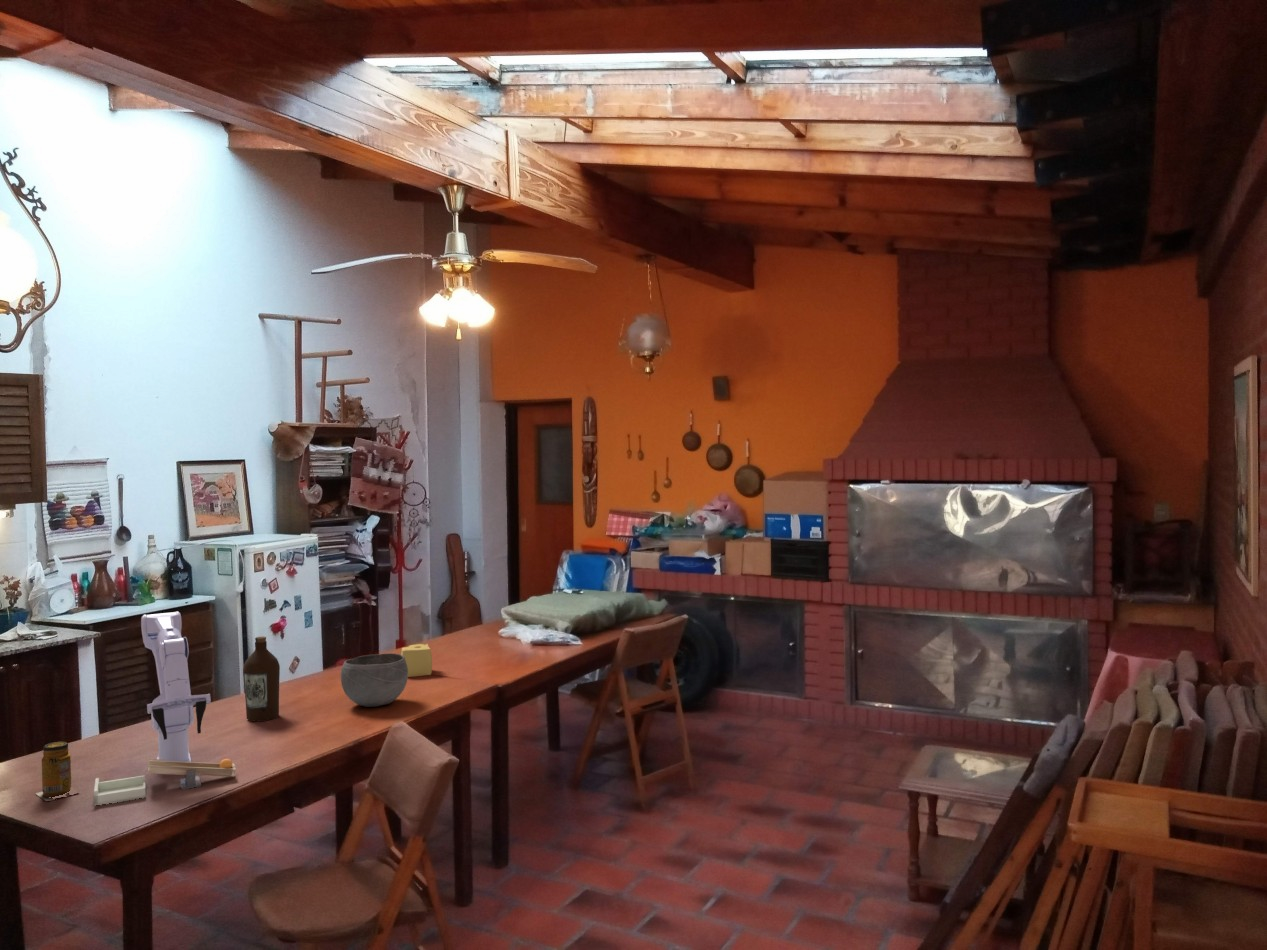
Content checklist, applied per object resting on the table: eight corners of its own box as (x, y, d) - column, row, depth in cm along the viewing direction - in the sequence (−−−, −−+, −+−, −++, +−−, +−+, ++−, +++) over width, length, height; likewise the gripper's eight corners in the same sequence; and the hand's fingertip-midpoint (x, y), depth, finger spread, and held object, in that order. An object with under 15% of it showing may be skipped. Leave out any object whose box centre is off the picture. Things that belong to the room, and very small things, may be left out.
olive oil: (254, 712, 304) (252, 634, 304) (287, 712, 303) (284, 634, 303) (237, 722, 294) (235, 640, 293) (271, 722, 293) (268, 640, 292)
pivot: (180, 781, 241) (179, 764, 241) (199, 778, 243) (198, 761, 243) (181, 789, 235) (180, 773, 235) (201, 786, 237) (200, 769, 237)
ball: (217, 768, 243) (221, 756, 244) (229, 769, 245) (233, 758, 245) (218, 771, 241) (222, 759, 241) (231, 773, 242) (234, 761, 242)
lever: (147, 761, 242) (148, 753, 242) (230, 765, 251) (231, 757, 251) (147, 774, 232) (149, 766, 232) (234, 777, 241) (235, 769, 241)
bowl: (417, 696, 321) (416, 651, 320) (395, 713, 300) (394, 666, 299) (356, 695, 323) (355, 651, 323) (330, 713, 302) (329, 665, 302)
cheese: (400, 672, 357) (399, 645, 357) (430, 669, 361) (429, 643, 360) (402, 678, 347) (401, 650, 347) (432, 675, 351) (432, 648, 350)
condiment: (68, 786, 239) (66, 738, 239) (79, 794, 233) (78, 745, 233) (35, 794, 234) (33, 745, 234) (46, 802, 228) (44, 752, 228)
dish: (96, 792, 234) (95, 778, 234) (145, 784, 239) (144, 770, 239) (94, 806, 225) (94, 791, 225) (145, 797, 230) (145, 783, 230)
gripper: (145, 683, 240) (149, 736, 234) (208, 673, 246) (214, 725, 241) (145, 692, 245) (150, 744, 240) (207, 682, 252) (213, 732, 246)
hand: (182, 735), depth 241 cm, fingers open, 7 cm apart
